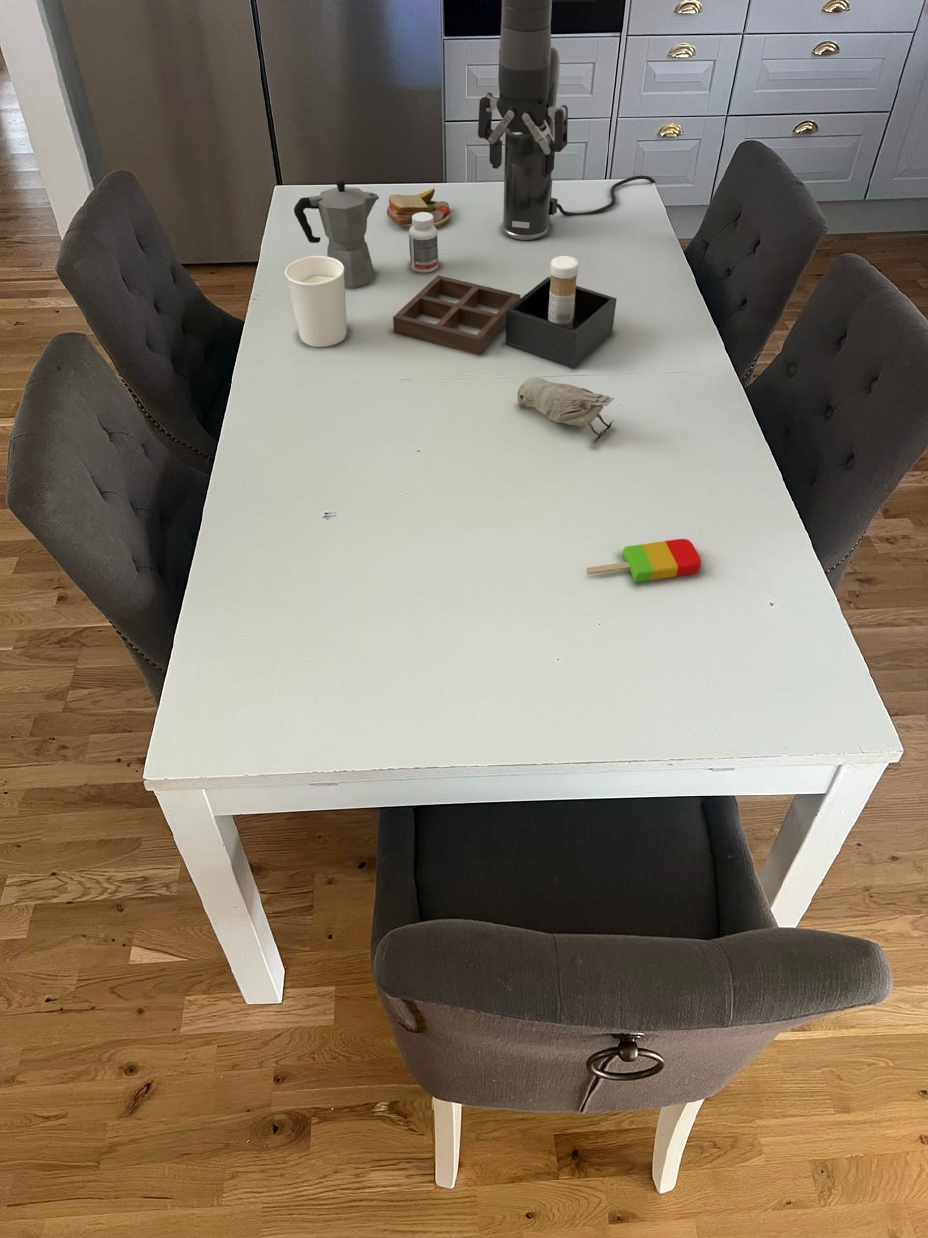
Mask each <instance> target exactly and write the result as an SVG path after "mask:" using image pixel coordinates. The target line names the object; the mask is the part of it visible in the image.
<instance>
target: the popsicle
mask: <svg viewBox="0 0 928 1238" xmlns="http://www.w3.org/2000/svg"><path fill="white" fill-rule="evenodd" d="M622 557H623V558H624V562H617V563H610V564H604V565H597V566H590V567H587V568H586V573H587V574H588V575H593V574H600V573H601V574H602V573H607V572H616V571H621V570H627V569H628V570H629V572H630V574H631V577H632V578H633V581H634V583H642V582H649V581H650V582H651V581H656V580H661V579H663V580H664V579H671V578H675V577H683V576H691V575H694V574H697V573H698V572H699V571H700V569H701V565H702V560H701V557H700V555H699V553H698V552H697V549H696V548H695V546H694V544H693V542H692V541H691V540H689V539H687V538H677V539H676V538H675V539H669V540H663V541H655V542H648V543H642V544H636V545H627V546H624V548H623V550H622Z"/></svg>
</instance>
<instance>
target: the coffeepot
mask: <svg viewBox="0 0 928 1238" xmlns="http://www.w3.org/2000/svg"><path fill="white" fill-rule="evenodd" d="M335 184H336V187H334V188H329V189H326V190H323V191H321V192H320V193H319V195H312V196H311V195H310V196H307V197H306V196H305V197H300V198H299V200H298V201H297V203H296V204H295V206H294V208H293V213H294V215H295V218H296V219H297V221H298V223H299V225H300V227H301V229H302V231H303V234H304V235H305V237H306V240H307V241H308V243H310V244H317V243H320V242H321V236H314V235H313V230H312V227H311V225H310V224H309V222H308V218H307V215H306V213H305V212H304V211H305V209H312V210H318V212H319V217H320V220H321V224H322V227H323V231H324V234H325V237H327V238H328V245H327V253H326V257H331V258H334V259H337V260H338V261H340V262H341V263H342V264H343V266H344V280H345V289H357V288H360V287H363V286H366V285H368V284H370V283H371V281H372V280H373V279H374V275H375V269H374V266H373V261H372V258H371V254H370V250H369V246H368V243H367V242H366V238H365V236H366V233H367V228H368V218H369V215H370V213H371V212H372V209H373V208H374V206H375V204H376V202H377V201H378V200H379V199H380V196H379V195H378V193H373V192H372V191H371V192H370V191H363V190H362V189H360V188H359V187H347V186H346V180H344V179H337V180H336V181H335Z"/></svg>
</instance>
